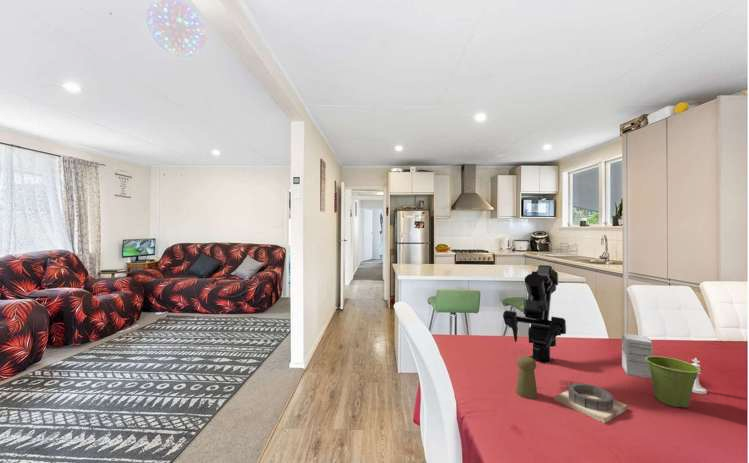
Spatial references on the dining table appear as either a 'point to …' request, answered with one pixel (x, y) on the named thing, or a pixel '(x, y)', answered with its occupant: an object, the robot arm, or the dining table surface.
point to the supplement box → (636, 355)
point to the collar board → (589, 411)
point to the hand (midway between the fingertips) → (530, 344)
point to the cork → (526, 378)
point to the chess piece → (696, 386)
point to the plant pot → (672, 380)
